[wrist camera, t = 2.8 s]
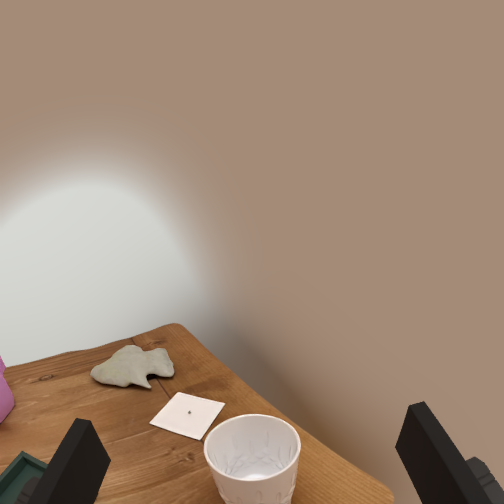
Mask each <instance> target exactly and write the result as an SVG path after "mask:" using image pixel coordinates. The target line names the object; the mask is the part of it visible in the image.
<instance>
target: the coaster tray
mask: <svg viewBox="0 0 504 504" xmlns="http://www.w3.org/2000/svg"><path fill="white" fill-rule="evenodd" d="M47 466H48V464H46V463H44V462H42V461H40V460H38V459H36V458H34V457H33V456H31V455H29V454H27V453H25V452H24V451H21V453H20V454H19V455H18V456H17V457H16V458H15V459H14V460H13V462H12V463H11V464H10V465H9V466H8V467H7V468H6V469H5V471H4V472H3V473H2V474H1V475H0V504H14V502H15V500H17V497H18V495H19V493H21V490H22V488H23V486H24V485H25V483H26V482H27V481H28V480H29V479H31V478H32V477H33V476H35V477H38V478H41V477H42V475H43V473H44V471H45V470H46V468H47ZM97 495H98V494H97Z"/></svg>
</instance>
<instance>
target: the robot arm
mask: <svg viewBox="0 0 504 504" xmlns="http://www.w3.org/2000/svg"><path fill="white" fill-rule="evenodd" d="M395 448H396V450H397V452H398V454H399V456H400V458H401V460H402V462H403V464H404V466H405V468H406V470H407V472H408V474H409V476H410V479H411V481H412V482H413V485H414V487H415V489H416V491H417V493H418V495H419V497H420V499H421V502H422V504H504V491H503V489H502V488H501V487H500V485H499V483H498V482H497V481H496V480H495V478H494V476H493V475H492V474H491V473H490V470H489V469H488V467H487V466H486V465H485V463H484V462H482V461H481V460H479V459H478V458H476V457H473V458H471V459H469V460H466V461H465V460H464V458H463V457H462V455H461V454H460V452H459V451H458V449H457V448H456V446H455V445H454V443H453V442H452V440H451V439H450V437H449V436H448V434H447V433H446V432H445V430H444V429H443V427H442V426H441V424H440V423H439V421H438V420H437V419H436V417H435V416H434V414H433V413H432V412H431V410H430V409H429V407H428V406H427V405H426V403H425V402H424V401H423V402H420V403H416V404H413V405H409V407H408V410H407V414H406V417H405V420H404V423H403V426H402V429H401V432H400V435H399V438H398V441H397V443H396V446H395ZM110 462H111V459H110V458H109V456H108V454H107V452H106V450H105V448H104V447H103V445H102V443H101V441H100V439H99V437H98V435H97V433H96V431H95V429H94V427H93V425H92V423H91V421H90V420H84V419H79V418H76V419H75V421H74V422H73V424H72V426H71V427H70V429H69V431H68V432H67V434H66V435H65V437H64V439H63V440H62V442H61V444H60V445H59V447H58V449H57V451H56V452H55V454H54V456H53V457H52V459H51V461H50V463H49V464H48V466H47V468H46V470H45V471H44V473H43V475H42V477H41V478H38V477H35V476H33V477H32V478H31V479H29V480H28V481H27V482H26V483H25V485H24V486H23V488H22V490H21V493H19V495H18V497H17V500H15V502H14V504H94V501H95V499H96V496H97V494H98V491H99V489H100V486H101V484H102V481H103V479H104V476H105V474H106V471H107V469H108V466H109V464H110Z"/></svg>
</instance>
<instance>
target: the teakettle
mask: <svg viewBox="0 0 504 504" xmlns="http://www.w3.org/2000/svg"><path fill="white" fill-rule="evenodd" d="M4 370H5V365H4V363H3V361H2V359H1V357H0V423H1V422H2V421H3V420H4V419H5V417H6V416H7V415H8V414H9V412H10V411H11V410H12V408H13V407H14V399H13V395H12V392H11V390H10V388H9V386H8V384H7V382H6V381H5V379H4V377H3V373H4Z"/></svg>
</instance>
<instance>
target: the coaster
mask: <svg viewBox="0 0 504 504" xmlns="http://www.w3.org/2000/svg"><path fill="white" fill-rule="evenodd" d="M224 405H225V403H221V402H216V401H212V400H208V399H203V398H199V397H195V396H191V395H187V394H184V393H180V392H178V393H177V394H176V395H175V396H174V397H173V398H172V399H171V400H170V401H169V402H168V403H167V405H166V406H165V407H164V408H163V409H162V410H161V411H160V412H159V413H158V414H157V415H156V416H155V417H154V418H153V420H152V421H151V422H150V424H153V425H155V426H158V427H161V428H164V429H167V430H169V431H172V432H175V433H178V434H182V435H185V436H188V437H191V438H194V439H198V440H200V439H201V438H202V436H203V435H204V434H205V432H206V431H207V429H208V428H209V426H210V425H211V424H212V422H213V421H214V419H215V418H216V416H217V415H218V413H219V412H220V411H221V409H222V408H223V406H224Z"/></svg>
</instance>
